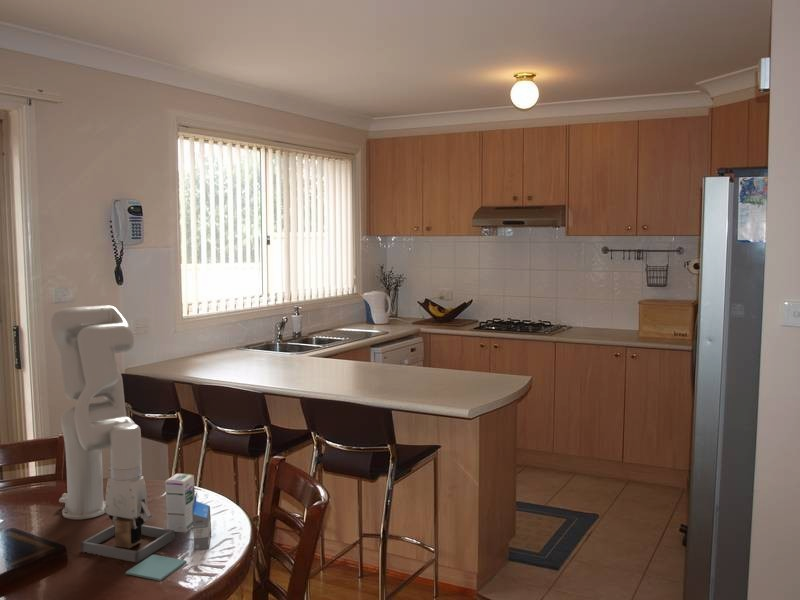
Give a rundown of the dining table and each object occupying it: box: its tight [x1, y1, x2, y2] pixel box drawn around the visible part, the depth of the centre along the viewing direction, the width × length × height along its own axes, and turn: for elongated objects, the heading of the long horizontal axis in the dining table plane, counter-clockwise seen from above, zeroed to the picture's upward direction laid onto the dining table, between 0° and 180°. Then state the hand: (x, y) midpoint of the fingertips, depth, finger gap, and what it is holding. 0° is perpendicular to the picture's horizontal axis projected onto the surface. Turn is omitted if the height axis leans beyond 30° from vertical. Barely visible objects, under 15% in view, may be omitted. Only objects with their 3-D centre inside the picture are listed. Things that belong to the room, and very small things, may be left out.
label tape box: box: [192, 492, 212, 551], centre depth 189 cm, size 9×4×12 cm, turn 10°
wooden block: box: [114, 517, 142, 550], centre depth 187 cm, size 4×4×7 cm
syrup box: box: [165, 473, 196, 534], centre depth 198 cm, size 6×6×14 cm
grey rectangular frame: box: [80, 524, 175, 564], centre depth 187 cm, size 17×14×2 cm
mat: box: [125, 553, 187, 582], centre depth 175 cm, size 10×10×1 cm
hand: (128, 539), depth 188 cm, fingers closed on wooden block, 4 cm apart
